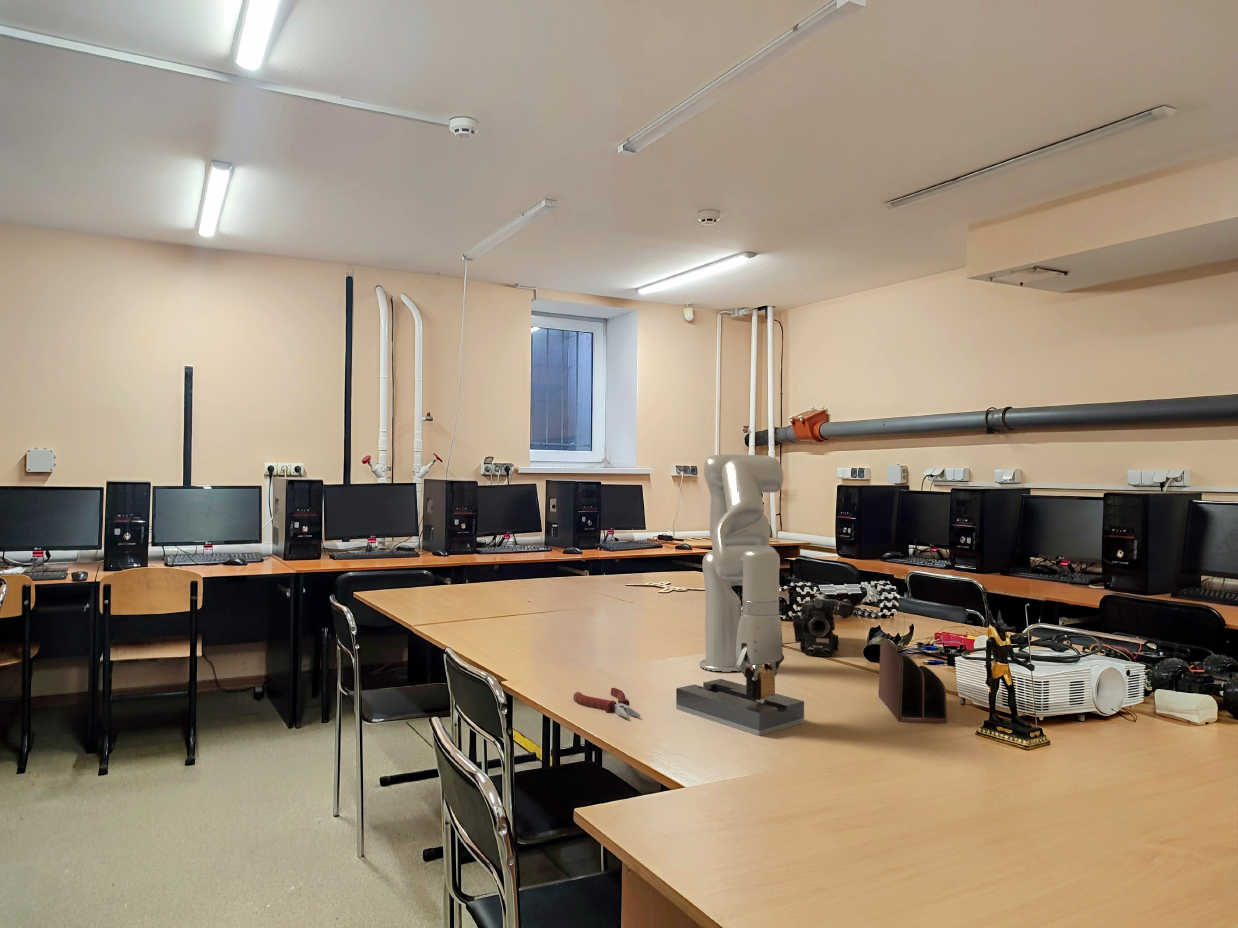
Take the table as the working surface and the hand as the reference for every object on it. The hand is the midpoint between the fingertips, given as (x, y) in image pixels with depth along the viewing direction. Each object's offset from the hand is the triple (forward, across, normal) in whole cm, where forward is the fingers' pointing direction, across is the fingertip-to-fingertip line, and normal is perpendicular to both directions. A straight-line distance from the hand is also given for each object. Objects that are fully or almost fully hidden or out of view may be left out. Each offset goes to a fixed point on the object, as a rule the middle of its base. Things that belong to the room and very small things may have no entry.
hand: (760, 695), depth 170 cm
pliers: (+6, +19, -29) cm, 35 cm away
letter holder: (+6, -34, +14) cm, 37 cm away
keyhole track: (+6, 0, -6) cm, 8 cm away
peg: (+4, 0, 0) cm, 4 cm away
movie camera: (+6, -71, -38) cm, 81 cm away
